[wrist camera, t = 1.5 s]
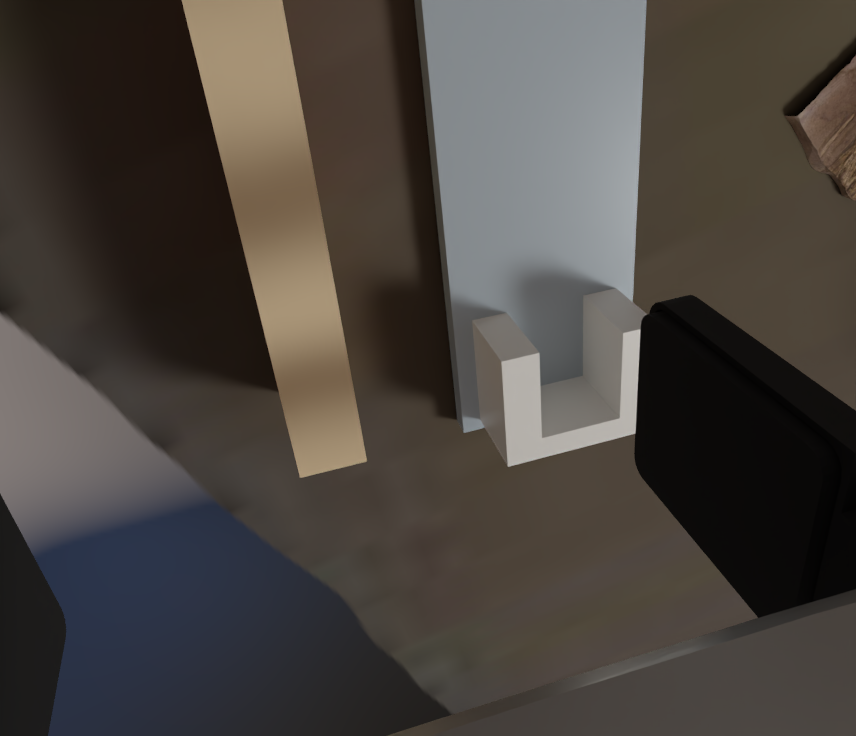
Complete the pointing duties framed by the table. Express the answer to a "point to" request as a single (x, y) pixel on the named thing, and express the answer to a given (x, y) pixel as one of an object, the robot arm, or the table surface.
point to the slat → (279, 221)
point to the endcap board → (537, 213)
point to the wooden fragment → (832, 130)
